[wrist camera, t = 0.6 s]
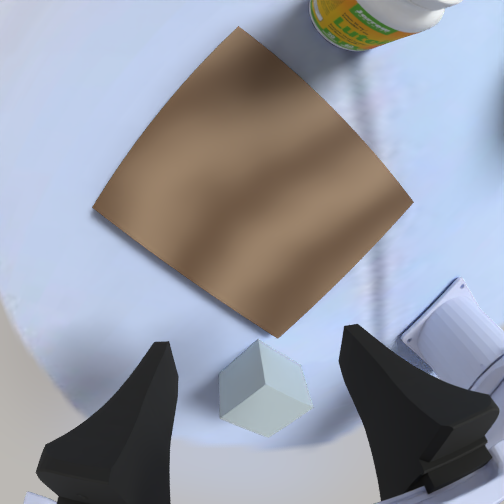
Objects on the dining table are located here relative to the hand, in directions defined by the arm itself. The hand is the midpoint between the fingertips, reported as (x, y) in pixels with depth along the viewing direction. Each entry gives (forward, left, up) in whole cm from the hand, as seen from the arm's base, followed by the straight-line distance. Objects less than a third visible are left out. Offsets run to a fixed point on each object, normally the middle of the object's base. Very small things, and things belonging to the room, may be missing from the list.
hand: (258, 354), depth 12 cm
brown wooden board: (+2, -4, -10) cm, 11 cm away
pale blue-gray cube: (-8, +7, -10) cm, 15 cm away
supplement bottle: (+6, -17, -10) cm, 20 cm away
